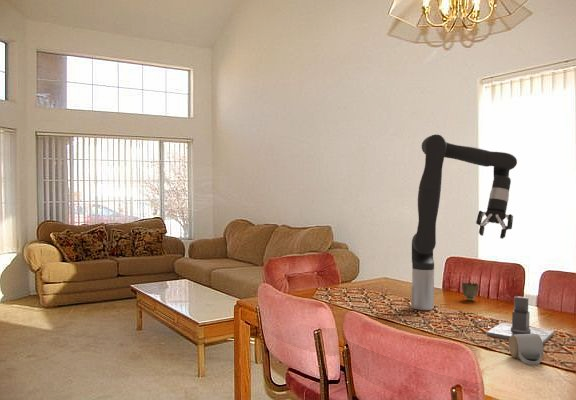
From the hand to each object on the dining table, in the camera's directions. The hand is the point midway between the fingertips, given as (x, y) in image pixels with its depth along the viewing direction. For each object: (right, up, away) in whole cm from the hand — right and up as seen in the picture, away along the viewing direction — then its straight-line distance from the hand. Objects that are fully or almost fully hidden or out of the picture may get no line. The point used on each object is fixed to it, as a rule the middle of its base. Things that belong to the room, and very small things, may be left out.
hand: (491, 236), depth 217 cm
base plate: (-3, -32, -34) cm, 47 cm away
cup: (-1, -32, +24) cm, 40 cm away
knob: (-3, -30, -34) cm, 46 cm away
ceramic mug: (-14, -33, -62) cm, 72 cm away
